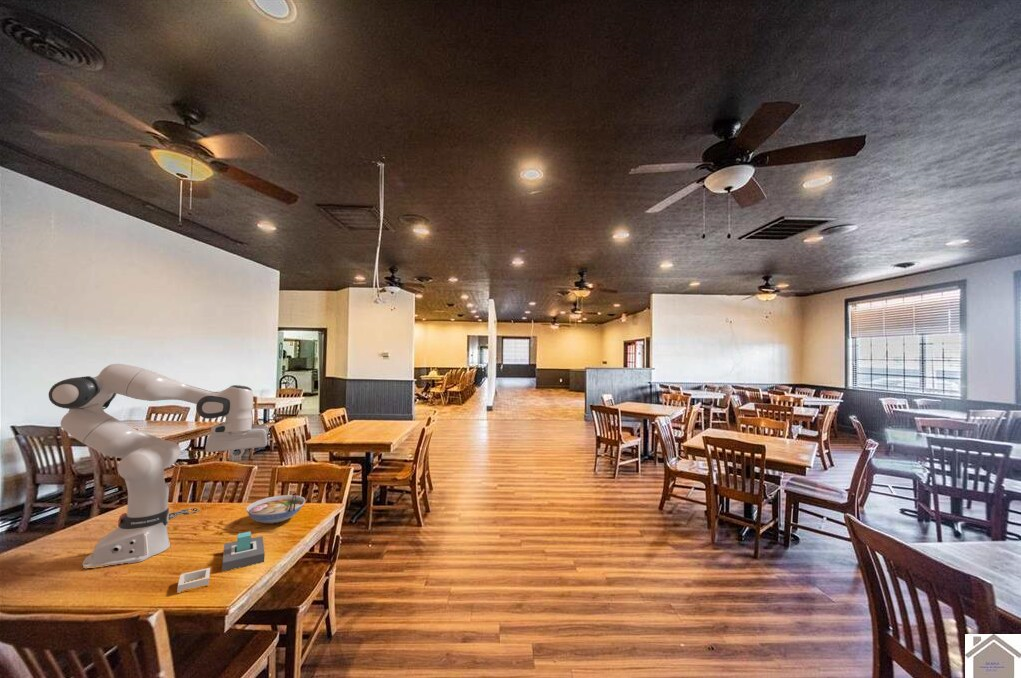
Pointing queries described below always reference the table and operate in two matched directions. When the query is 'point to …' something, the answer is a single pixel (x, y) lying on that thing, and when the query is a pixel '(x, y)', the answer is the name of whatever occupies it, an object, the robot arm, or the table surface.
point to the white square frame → (193, 576)
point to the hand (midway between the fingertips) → (236, 460)
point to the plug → (243, 541)
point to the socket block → (243, 554)
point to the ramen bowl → (275, 508)
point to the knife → (181, 512)
